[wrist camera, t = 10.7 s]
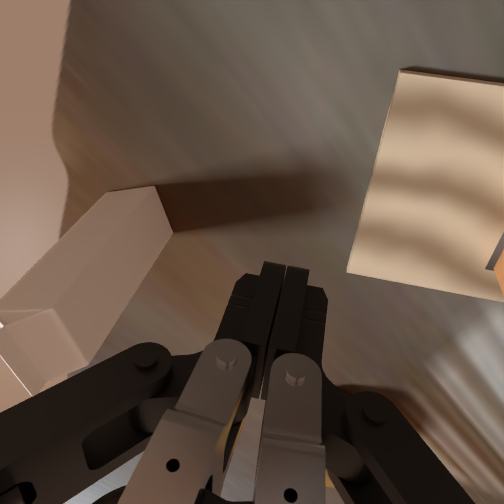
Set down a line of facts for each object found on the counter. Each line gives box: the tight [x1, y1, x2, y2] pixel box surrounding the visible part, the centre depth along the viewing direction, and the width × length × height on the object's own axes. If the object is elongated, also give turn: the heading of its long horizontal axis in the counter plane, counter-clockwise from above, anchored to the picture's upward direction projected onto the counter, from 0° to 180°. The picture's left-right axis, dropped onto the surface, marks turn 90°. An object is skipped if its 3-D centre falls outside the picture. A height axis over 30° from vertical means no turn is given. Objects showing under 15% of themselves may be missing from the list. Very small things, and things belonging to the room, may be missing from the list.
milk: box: [0, 186, 173, 396], centre depth 40 cm, size 6×6×22 cm
